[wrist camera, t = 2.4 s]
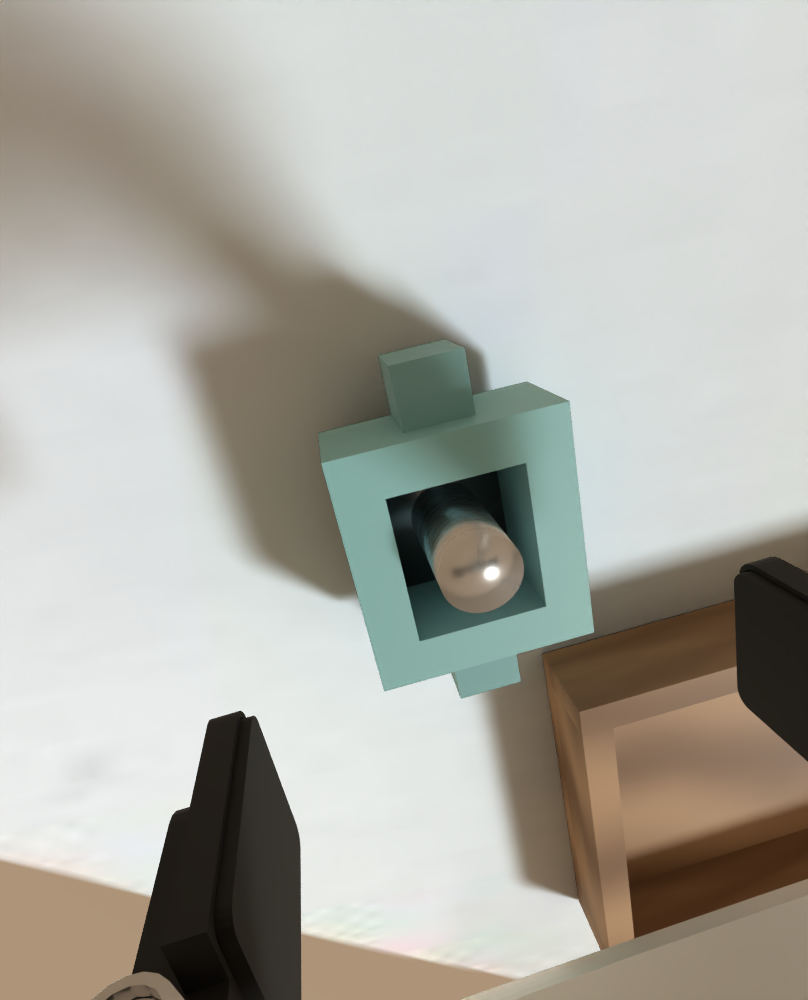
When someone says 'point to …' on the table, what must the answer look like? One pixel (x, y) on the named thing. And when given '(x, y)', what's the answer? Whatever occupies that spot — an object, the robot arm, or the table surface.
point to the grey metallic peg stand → (458, 542)
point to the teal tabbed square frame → (447, 458)
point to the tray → (671, 777)
